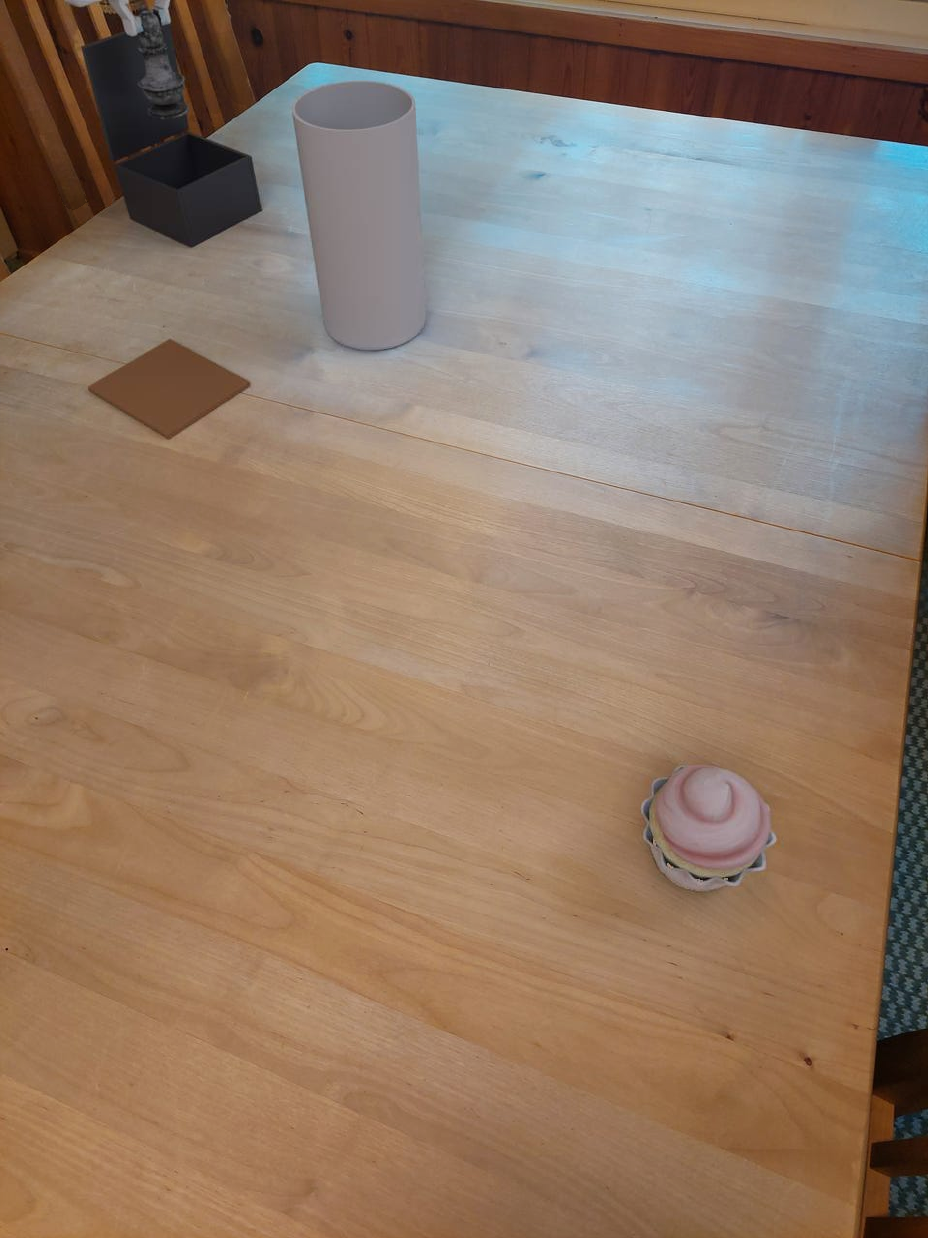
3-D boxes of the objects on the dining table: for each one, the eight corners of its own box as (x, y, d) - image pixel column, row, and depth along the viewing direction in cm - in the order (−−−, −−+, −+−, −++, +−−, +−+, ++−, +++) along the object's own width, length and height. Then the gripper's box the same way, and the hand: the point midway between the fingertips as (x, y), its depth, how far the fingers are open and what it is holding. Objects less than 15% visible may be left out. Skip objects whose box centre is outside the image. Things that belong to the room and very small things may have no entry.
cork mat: (88, 391, 103) (87, 386, 102) (170, 342, 108) (169, 338, 108) (168, 439, 97) (167, 435, 96) (250, 385, 103) (249, 381, 102)
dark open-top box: (262, 210, 129) (251, 155, 123) (191, 247, 123) (176, 192, 117) (201, 184, 134) (188, 130, 129) (130, 219, 128) (113, 164, 122)
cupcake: (755, 930, 62) (794, 869, 55) (621, 895, 64) (641, 832, 56) (764, 812, 68) (801, 742, 60) (641, 783, 70) (661, 711, 62)
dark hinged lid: (168, 17, 117) (164, 15, 117) (84, 48, 110) (80, 46, 111) (189, 128, 128) (185, 126, 128) (114, 162, 122) (110, 160, 122)
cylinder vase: (438, 342, 108) (428, 121, 88) (335, 361, 106) (303, 138, 86) (412, 289, 115) (398, 74, 96) (316, 305, 113) (282, 88, 94)
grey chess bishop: (137, 117, 116) (108, 9, 107) (157, 99, 120) (131, -7, 111) (179, 121, 115) (154, 13, 106) (198, 103, 119) (175, -3, 110)
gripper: (169, -136, 106) (196, 1, 117) (19, -100, 96) (64, 46, 107) (205, -128, 104) (229, 11, 114) (54, -90, 93) (97, 59, 104)
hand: (148, 29), depth 110 cm, fingers closed on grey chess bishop, 3 cm apart
